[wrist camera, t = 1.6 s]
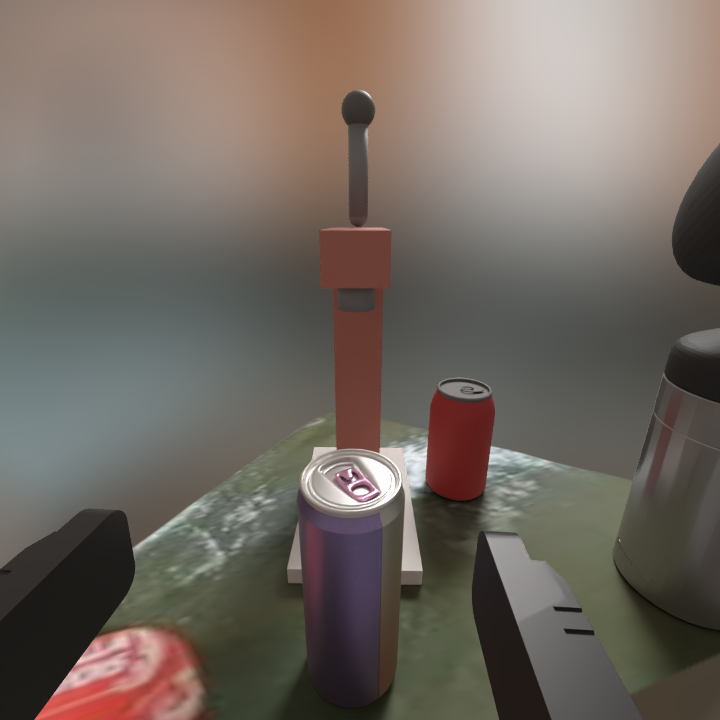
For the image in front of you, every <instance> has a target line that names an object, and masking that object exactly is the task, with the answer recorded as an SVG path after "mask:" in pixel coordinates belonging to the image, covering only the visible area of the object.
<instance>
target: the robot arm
mask: <svg viewBox="0 0 720 720" xmlns="http://www.w3.org/2000/svg"><path fill="white" fill-rule="evenodd" d="M672 247H673V254H674V257H675V259H676V262H677V264H678V265H679V267H680V268H681V269H682V271H683V272H685V273H686V274H687V275H689V276H690V277H691V278H693V279H696V280H699V281H702V282H705V283H709V284H713V285H718V286H720V144H719V145H718V146H717V147H716V149H715V150H714V151H713V152H712V153H711V155H710V156H709V158H708V159H707V160H706V162H705V163H704V164H703V166H702V167H701V169H700V170H699V172H698V173H697V175H696V177H695V178H694V180H693V182H692V183H691V185H690V187H689V189H688V190H687V192H686V194H685V196H684V199H683V201H682V203H681V205H680V208H679V211H678V213H677V216H676V220H675V223H674V227H673V233H672ZM613 555H614V560H615V563H616V566H617V567H618V569H619V571H620V572H621V574H622V575H623V577H624V578H625V579H626V580H627V581H628V582H629V584H630V585H631V586H632V587H633V588H634V589H635V590H637V591H638V592H639V593H640V594H641V595H642V596H643V597H645V598H646V599H648V600H649V601H650V602H652V603H653V604H654V605H656V606H657V607H659V608H661V609H663V610H664V611H666V612H668V613H669V614H671V615H673V616H675V617H678V618H680V619H682V620H684V621H686V622H689V623H692V624H695V625H698V626H701V627H704V628H710V629H715V630H720V328H717V329H712V330H706V331H701V332H695V333H692V334H688V335H686V336H683V337H682V338H680V339H679V340H678V341H676V342H675V343H674V345H673V347H672V348H671V351H670V353H669V357H668V360H667V363H666V367H665V370H664V374H663V377H662V381H661V384H660V388H659V391H658V395H657V398H656V402H655V406H654V409H653V413H652V416H651V420H650V424H649V427H648V431H647V434H646V437H645V441H644V444H643V448H642V451H641V455H640V458H639V462H638V466H637V469H636V473H635V476H634V479H633V483H632V486H631V490H630V493H629V497H628V500H627V504H626V507H625V511H624V514H623V518H622V521H621V525H620V528H619V531H618V535H617V538H616V542H615V545H614V549H613ZM134 574H135V561H134V555H133V550H132V544H131V538H130V533H129V527H128V522H127V517H126V515H125V513H124V512H122V511H120V510H104V509H85V510H82V511H81V512H79V513H78V514H77V515H76V516H75V517H73V518H72V519H71V520H70V521H69V522H68V523H66V524H65V525H64V526H63V527H62V528H61V529H60V530H58V531H57V532H53V533H52V534H50V535H48V536H46V537H45V538H43V539H41V540H39V541H38V542H36V543H34V544H32V545H31V546H29V547H27V548H25V549H24V550H23V551H22V552H20V553H19V554H18V555H17V556H16V557H14V558H13V559H12V560H11V561H10V562H9V563H7V564H6V565H5V566H4V567H3V568H1V569H0V720H34V719H35V718H36V717H37V715H38V714H39V713H40V711H41V710H42V709H43V707H44V706H45V705H46V703H47V702H48V700H49V699H50V698H51V696H52V695H53V694H54V692H55V691H56V690H57V688H58V687H59V686H60V684H61V683H62V682H63V680H64V679H65V677H66V676H67V675H68V673H69V672H70V671H71V669H72V668H73V667H74V665H75V664H76V663H77V661H78V660H79V659H80V657H81V656H82V654H83V653H84V652H85V650H86V649H87V648H88V646H89V645H90V644H91V642H92V641H93V640H94V638H95V637H96V636H97V634H98V633H99V631H100V630H101V629H102V627H103V626H104V625H105V623H106V622H107V621H108V619H109V618H110V617H111V615H112V614H113V612H114V611H115V610H116V608H117V607H118V606H119V604H120V603H121V602H122V600H123V599H124V598H125V596H126V595H127V593H128V591H129V589H130V587H131V584H132V582H133V578H134ZM472 605H473V613H474V619H475V623H476V627H477V631H478V635H479V639H480V643H481V647H482V651H483V656H484V660H485V664H486V668H487V672H488V676H489V680H490V684H491V688H492V692H493V696H494V700H495V704H496V708H497V712H498V716H499V720H643V718H642V717H641V715H640V713H639V711H638V710H637V708H636V706H635V704H634V702H633V701H632V699H631V697H630V695H629V693H628V691H627V689H626V688H625V686H624V684H623V682H622V680H621V679H620V677H619V675H618V673H617V671H616V670H615V668H614V666H613V664H612V662H611V660H610V659H609V657H608V655H607V653H606V651H605V650H604V648H603V646H602V644H601V642H600V641H599V639H598V637H597V636H595V635H594V630H593V628H592V626H591V624H590V622H589V621H588V619H587V617H586V615H585V613H582V608H581V606H580V604H579V603H578V601H577V599H576V597H575V595H574V593H573V592H572V590H571V588H570V586H569V584H568V583H567V582H566V581H565V580H564V579H563V578H562V577H561V576H560V575H559V574H558V573H557V572H556V571H555V570H554V569H553V568H552V567H551V566H550V565H549V564H548V563H547V562H546V561H536V560H531V559H530V557H529V555H528V553H527V551H526V549H525V547H524V545H523V542H522V540H521V538H520V537H519V535H518V534H517V533H510V532H491V531H481V532H480V533H479V536H478V543H477V551H476V559H475V567H474V575H473V583H472Z"/></svg>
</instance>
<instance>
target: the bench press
mask: <svg viewBox="0 0 720 720" xmlns="http://www.w3.org/2000/svg"><path fill="white" fill-rule="evenodd" d="M374 115H375V106H374V102H373V99H372V98H371V96H370V95H369V94H368V93H367V92H365V91H362V90H354V91H352V92H350V93H349V94H348V95H347V96H346V97H345V99H344V101H343V103H342V116H343V119H344V120H345V122H346V124H347V125H348V127H349V128H348V129H349V130H348V134H349V220H350V222H351V224H353V225H354V226H356V227H361V226H363V225H364V224H365V223H366V221H367V216H368V126H369V124H370V123H371V122H372V120H373V118H374ZM319 239H320V270H321V288H333V305H334V307H333V308H334V353H335V399H336V444H337V448H329V447H315V448H314V452H313V457H312V460H313V459H315V458H317V457H318V456H320V455H322V454H325V453H328V452H331V451H335V450H340V449H363V450H369V451H373V452H376V453H379V454H381V455H383V456H385V457H387V458H388V459H390V460H391V461H392V462H393V463H394V464H395V465H396V466H397V467H398V469H399V470H400V472H401V475H402V486H403V489H404V492H405V512H404V532H403V552H402V572H401V585H422V575H423V569H422V563H421V557H420V551H419V545H418V539H417V533H416V526H415V520H414V514H413V508H412V502H411V496H410V490H409V484H408V478H407V472H406V465H405V459H404V453H403V448H380V411H381V409H380V408H381V364H382V318H383V288H390V260H391V230H388V229H385V228H329V229H324V230H319ZM287 576H288V583H302V570H301V555H300V539H299V524H298V523H297V527H296V532H295V536H294V541H293V545H292V549H291V554H290V558H289V563H288V567H287Z"/></svg>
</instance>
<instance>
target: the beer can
mask: <svg viewBox="0 0 720 720" xmlns="http://www.w3.org/2000/svg"><path fill="white" fill-rule="evenodd" d="M494 417H495V407H494V401H493V398H492V389H491V388H490V387H489V386H488V385H486V384H485V383H483V382H480V381H477V380H473V379H467V378H449V379H445V380H442V381H441V382H440V383H438V385H437V390H436V392H435V394H434V396H433V399H432V402H431V406H430V420H429V435H428V449H427V463H426V480H427V484H428V485H429V486H430V488H431V489H432V490H433V491H434V492H436V493H437V494H438V495H440V496H442V497H445V498H447V499H451V500H456V501H467V500H471V499H474V498H476V497H478V496H479V495H481V494H482V492H483V491H484V489H485V485H486V477H487V470H488V462H489V455H490V447H491V440H492V432H493V425H494Z"/></svg>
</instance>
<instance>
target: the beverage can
mask: <svg viewBox="0 0 720 720" xmlns="http://www.w3.org/2000/svg"><path fill="white" fill-rule="evenodd" d="M299 485H300V487H299V490H298V494H297V509H298V524H299V539H300V555H301V570H302V585H303V601H304V616H305V631H306V646H307V662H308V671H309V675H310V678H311V680H312V683H313V685H314V686H315V688H316V689H317V691H318V692H319V693H320V694H321V695H322V696H323V697H324V698H325V699H326V700H328V701H329V702H331V703H333V704H335V705H338V706H341V707H345V708H358V707H362V706H366V705H368V704H370V703H372V702H374V701H375V700H377V699H378V698H379V697H381V696H382V695H383V694H384V693H385V692H386V690H387V689H388V688H389V686H390V684H391V682H392V680H393V678H394V675H395V672H396V667H397V652H398V632H399V612H400V592H401V572H402V552H403V532H404V512H405V492H404V489H403V486H402V475H401V472H400V470H399V469H398V467H397V466H396V465H395V464H394V463H393V462H392V461H391V460H390V459H388V458H387V457H385V456H383V455H381V454H379V453H376V452H373V451H369V450H363V449H340V450H335V451H331V452H328V453H325V454H322V455H320V456H318V457H317V458H315V459H313V460H312V461H311V462H310V463H308V464H307V466H306V467H305V468H304V470H303V471H302V473H301V476H300V482H299Z"/></svg>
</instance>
